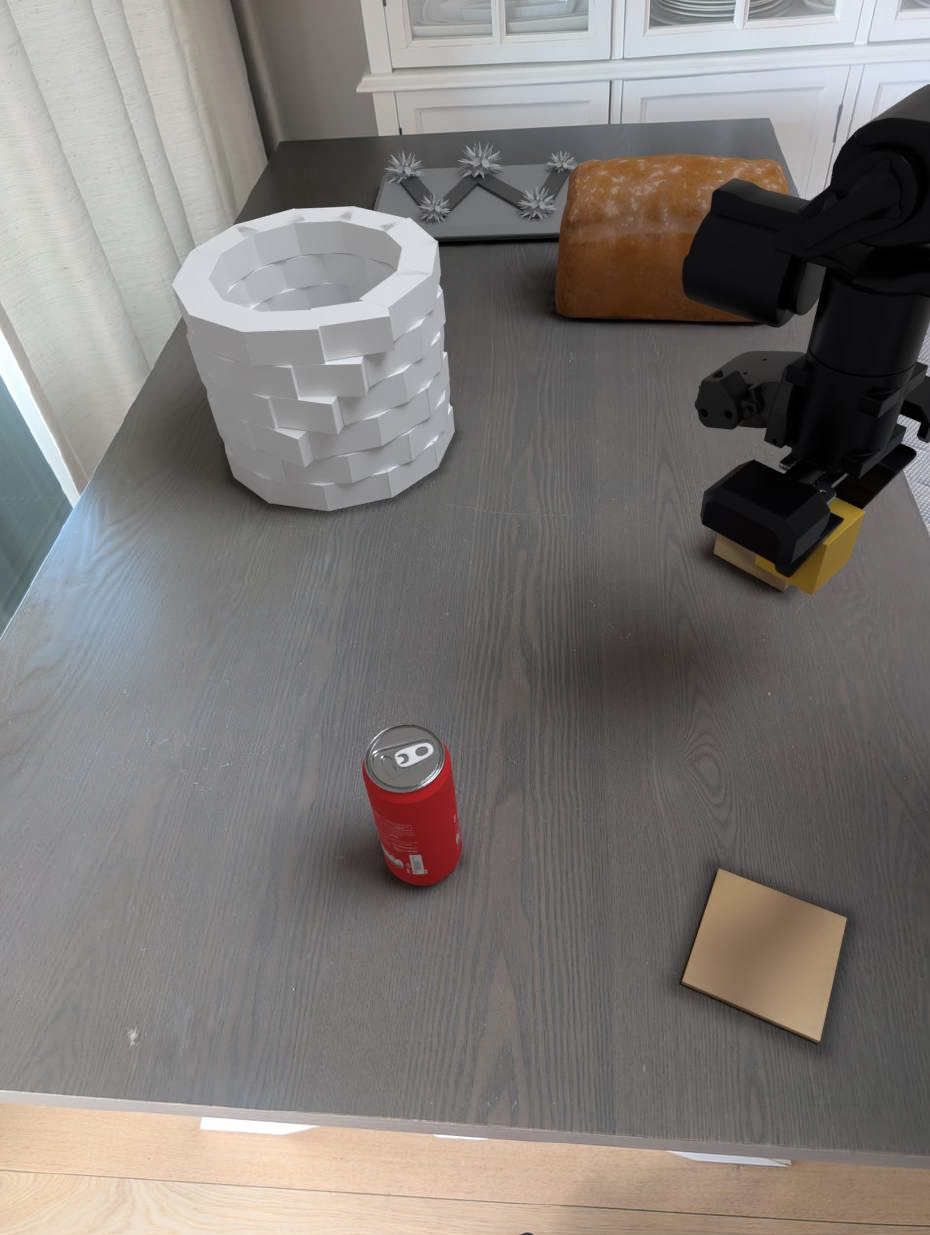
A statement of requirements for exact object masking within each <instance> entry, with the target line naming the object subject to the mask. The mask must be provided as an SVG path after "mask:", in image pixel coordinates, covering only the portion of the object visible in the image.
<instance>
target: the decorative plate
mask: <svg viewBox="0 0 930 1235" xmlns="http://www.w3.org/2000/svg"><path fill="white" fill-rule="evenodd" d="M489 144H490V142H488V143H487V145H486V146H485V148H484V150H482V146H481V142H480V140H479V141H478V147H477V143H476V140H474V146H473V150H471V149H470V148H469V147H468V146H467V145H465V147H466V148H465V149H464V150H465V151H464V150H461V152H462V153H463V154H464V155H465V156H466V158H462V157H461V158H460V159H461V160H460V159H459V160H457V161H458V162H459V163H457V165H458V166H459V167H438V168H423V167H424V165H422V164H423V163H421V160H419V161H417V162H415V161H416V159H415V156H416V154H414V155H413V156H412V153H413V152H410V153H409V155H408V157H407V158H406V156H405V152H404V151H401V153H400V151H399V150H398V160H397V159H396V158H395V157H394V156H393V155H392V154H390V156H391V157H392V158H390V159H391V160H389V159H387V161H388V162H389V164H390V165H391V166H387V167H383V169H385V170H387V171H384V173H385V174H384V175H383V177H381V182H380V185H379V189H378V193H377V196H376V200H375V203H374V207H373V210H372V211H376V212H381V213H385V214H390V215H394V216H399V217H403V218H411V219H412V220H413V221H414V222H415V223H417V224H418V225H419V226H420V227H421V228H422V229H423V230H425V231H426V232H427V233H428V234H429V235H430V236H431V237H433V238H434V239H435V240H436V241H438V243H444V242H445V243H446V242H448V243H449V242H476V241H504V240H505V241H506V240H507V241H508V240H535V239H559V237H560V224H561V220H562V215H563V212H564V209H565V205H566V202H567V191H568V183H569V175H570V172H572V171H573V170H574V169H575V168H576V167H577V166H578V165H579V164H580V163H578V162H577V161H575V160H574V159H575V156H573V157H572V158H570V154H571V152H569V153H568V151H567V150H566V151H565V153H564V155H563V151H562V149H560V150H559V151H557V154H555V155H554V153H551V155H550V156H549V159H550V160H551V161H547V162H546V163H540V164H515V165H514V164H511V165H510V164H509V165H501V164H497V163H498V162H499V161H500V160H502V159H503V157H500V154H499V153H501V150H499V151H497V152H495V153H493V154H492V152H493V150H492V149H493V147H494V145H495V144H494V142H493V143H492V145H491V147H490V148H489ZM401 155H402V156H401Z"/></svg>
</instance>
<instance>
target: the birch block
mask: <svg viewBox="0 0 930 1235" xmlns="http://www.w3.org/2000/svg"><path fill="white" fill-rule="evenodd" d="M716 533H717V532H716ZM713 554H714V555H716V556H717V557H719V558H721V559H723V560H725V561H726V562H728V563H730V564H732V565H734V566H736V567H737V568H739V569H741V570H742V571H744V572H746V573H748V574H750V575H752V576H754V577H755V578H757V579H758V580H761V581H762V582H764V583H766V584H768V585H770V586H771V587H773V588H775V589H776V590H778V591H781V592H782V593H784V592H785V591H786V590H787V589H788V588H789V587H791V586H792V584H790V583H788V582H787V581H785V580H783V579H781V578H779V577H778V576H776V575H774V574H772V573H770V572H769V571H767V570H765V569H763V568H761V567H760V566H758V565H756V564H755V560H756V555H757V554H755V553H753V552H752V551H750V550H748V549H746V548H744V547H742V546H741V545H739V544H737V543H735V542H733V541H731V540H730V539H728V538H726V537H724V536H722V535H721V534H719V533H717V534H716V538H715V544H714V549H713Z"/></svg>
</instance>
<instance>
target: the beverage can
mask: <svg viewBox="0 0 930 1235" xmlns="http://www.w3.org/2000/svg"><path fill="white" fill-rule="evenodd" d="M451 759H452V758H451V755H450V751H449V749H448V747H447V745H446V744H445V743H444V741H443V740H442V739H441V737H440V736H439V734H437V733H436V732H435V731H434V730H432V729H431V728H429V727H427V726H425V725H422V724H419V723H414V722H413V723H412V722H409V723H408V722H407V723H400V724H399V723H397V724H394V725H391V726H388V727H387V728H385V729H383V730H382V731H380V732H379V733H378V734H376V735H375V736H374V737H373V738H372V740H370V742H369V743H368V746H366V750H365V752H364V757H363V760H362V765H361V766H362V768H361V771H362V772H361V773H362V777H363V782H364V786H365V789H366V793H367V796H368V801H369V804H370V808H371V812H372V816H373V819H374V822H375V827H376V830H377V833H378V837H379V842H380V845H381V848H382V852H383V856H384V859H385V862H386V865H387V867H388V869H389V870H390V871H391V873H393V875H395V877H397V878H398V879H400V880H402V881H404V882H406V883H407V884H410V885H412V886H415V887H430V886H433V885H436V884H438V883H441V882H442V881H444V880H445V879H446V878H448V877H449V876H450V874H452V872H453V870H454V869H455V868H456V867H457V865H458V863H459V861H460V859H461V856H462V850H463V840H462V835H461V827H460V819H459V812H458V804H457V796H456V788H455V781H454V774H453V766H452V761H451Z"/></svg>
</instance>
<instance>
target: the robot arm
mask: <svg viewBox="0 0 930 1235" xmlns="http://www.w3.org/2000/svg"><path fill="white" fill-rule="evenodd" d="M682 287H683V291H684V293H685V295H686V297H687V298H689V299H690V300H692V301H695V302H698V303H701V304H704V305H707V306H710V307H713V308H716V309H719V310H722V311H726V312H729V313H732V314H735V315H738V316H741V317H744V318H747V319H750V320H753V321H756V323H759V324H762V325H765V326H768V327H771V328H776V329H779V328H781V327H783V326H785V325H786V324H787V323H788V322H789V321H790V320H791V319H792V318H793V317H794V316H795V315H797V316H800V317H802V316H805V315H806V314H808V313H809V312H810V311H811V310H812V309H813V308H814V307H815V305H816V303H817V305H816V310H815V314H814V318H813V322H812V327H811V331H810V335H809V338H808V343H807V348H806V352H803V351H789V350H752V351H746V352H744V353H740V354H739V355H737V356H735V357H734V358H732V359H731V360H729V361H728V362H726V363H725V364H723V365H721V366H720V367H718V368H717V369H716V370H715V371H713V372H711V373H710V374H709V375H708V376H706V377H704V378H702V379H701V380H700V384H699V385H698V393H697V396H696V400H694V407H695V410H696V411H697V416H698V421H699V422H700V423H701V424H702V425H703V426H704V427H705V428H708V429H718V430H719V429H720V430H729V431H733V430H735V429H736V428H737V427H740V428H748V429H749V428H751V429H765V433H764V438H763V442H765V443H767V444H769V445H772V446H774V447H776V448H777V449H783V448H784V447H788V448H791V450H790V452H789V453H788V454H787V455H785V457H783V458H782V459H781V460H779V464H778V468H779V469H781V470H782V471H785V472H784V473H783V472H781V471H779V470H777V469H775V468H773V467H771V466H769V465H767V464H764V463H762V462H760V461H758V460H757V459H755V458H753V459H751V460H749V461H746V462H743V463H741V464H738V465H736V467H734V468H733V469H731V470H730V471H728V473H726V474H725V475H724V476H722V477H720V479H719V480H717V481H716V482H714V483H713V484H712V485H710V486H709V487H708V488H706V489H705V490H704V491H703V494H702V502H701V506H700V507H701V508H700V514H699V517H700V521H701V525H702V526H704V527H706V528H708V529H710V530H712V531H713V532H715V533H719V534H721V535H722V536H724V537H726V538H728V539H730V540H731V541H733V542H735V543H737V544H739V545H741V546H742V547H744V548H746V549H748V550H750V551H752V552H753V553H755V554H757V555H759V556H761V557H763V558H764V559H766V560H768V561H770V562H772V563H773V564H774V566H775V570H776V571H777V572H778V573H780V574H781V575H783V576H785V577H787V578H790V577H791V576H793V575H794V574H795V573H796V571H797V570H798V569H799V568H800V567H801V566H802V565H803V564H804V563H805V562H806V561H807V560H808V559H809V558H810V557H811V555H812V554H813V553H814V552H815V551H816V550H817V549H818V548H819V547H820V546H821V545H822V544H823V543H824V541H825V540H826V539H827V538H828V537H829V536H830V535H831V534H832V533H833V532H834V531H835V530H836V529H837V528H838V527H839V526H840V524H841V523H842V522H843V521H844V518H842V517H840V516H838V515H836V514H834V513H832V512H831V510H830V508H829V505H830V504H831V503H832V502H833V501H834V500H835V497H837V498H839V499H841V500H843V501H845V502H847V503H849V504H851V505H853V506H855V507H857V508H859V509H861V510H864V509H866V508H867V506H868V505H870V504H871V502H872V501H873V500H874V499H875V498H877V496H879V495H880V493H881V492H883V490H885V489H886V487H888V486H889V484H890V483H891V482H892V481H894V480H895V479H896V478H897V477H898V475H900V473H902V472H903V471H904V470H905V469H906V467H907V466H909V465H910V464H911V463H912V462H913V461H914V460H915V458H916V457H917V455H918V452H917V451H916V449H915V448H913V447H911V446H910V445H908V444H904V443H903V440H904V438H905V435H906V432H907V429H908V427H907V426H905V425H903V424H900V423H898V419H899V416H900V415H901V416H903V417H905V418H907V419H911V420H912V421H915V422H918V423H920V424H919V426H918V430H917V431H916V432H917V433H916V438H917V439H918V441H920V442H923V443H925V444H929V443H930V376H929V375H927V372H928V368H929V364H925V363H923V362H920V361H918V360H919V356H920V354H921V351H922V347H923V345H924V342H925V338H926V336H927V332H928V330H929V326H930V83H928V84H925V85H923V86H922V87H920V88H918V89H916V90H914V91H912V92H911V93H910V94H908V95H907V96H905V97H904V98H903V99H901V100H899V101H898V102H896V103H895V104H894V105H892V106H891V107H888V108H887V109H886V110H884V111H883V112H881V113H880V114H878V115H876V117H874V118H872V119H870V120H869V121H868V122H866V123H865V124H863V125H862V126H861V127H858V128H857V129H856V130H855V131H854V132H853V134H852V135H851V136H850V137H849V138H848V139H847V140H846V141H845V142H844V144H842V146H841V147H840V150H839V151H838V154H837V156H836V158H835V160H834V162H833V164H832V169H831V175H830V182H829V185H828V186H827V187H826V188H825V189H824V190H822V191H821V192H820V193H818V194H817V195H815V196H814V197H812V198H811V199H807V198H801V197H797V196H794V195H791V194H790V195H786V194H782V193H778V192H774V191H770V190H766V189H763V188H761V187H759V186H758V185H756V184H754V183H752V182H749V181H745V180H741V179H737V178H733V179H731V180H730V181H728V182H727V183H725V184H723V185H722V186H720V187H719V188H717V189H716V190H714V191H713V192H712V199H711V207H710V211H709V212H708V213H707V215H706V216H705V218H704V219H703V221H702V222H701V224H700V226H699V228H698V230H697V232H696V234H695V236H694V239H693V242H692V244H691V247H690V250H689V254H688V255H687V256H686V257H685V258H684V261H683V267H682Z"/></svg>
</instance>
